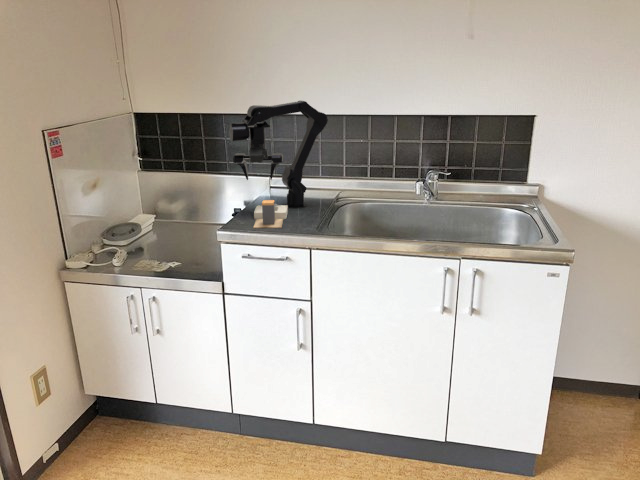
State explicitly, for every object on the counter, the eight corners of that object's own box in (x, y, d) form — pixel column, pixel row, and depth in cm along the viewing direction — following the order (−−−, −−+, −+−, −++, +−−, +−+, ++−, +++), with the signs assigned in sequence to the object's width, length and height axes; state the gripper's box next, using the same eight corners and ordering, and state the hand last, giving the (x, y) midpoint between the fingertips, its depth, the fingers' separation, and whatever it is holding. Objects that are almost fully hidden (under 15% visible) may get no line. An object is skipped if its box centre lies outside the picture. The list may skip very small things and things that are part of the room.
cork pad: (283, 219, 201) (283, 218, 201) (281, 228, 191) (281, 227, 191) (256, 219, 201) (256, 218, 201) (253, 228, 191) (253, 227, 191)
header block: (287, 211, 211) (287, 203, 210) (286, 218, 202) (286, 210, 200) (257, 211, 211) (256, 203, 210) (254, 219, 202) (253, 210, 201)
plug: (275, 221, 198) (274, 200, 195) (274, 224, 194) (273, 203, 191) (264, 221, 198) (263, 200, 195) (262, 224, 194) (261, 203, 191)
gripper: (229, 143, 197) (232, 184, 202) (280, 143, 197) (281, 184, 202) (234, 138, 208) (236, 178, 213) (282, 138, 208) (283, 178, 213)
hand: (259, 179), depth 210 cm, fingers open, 9 cm apart
